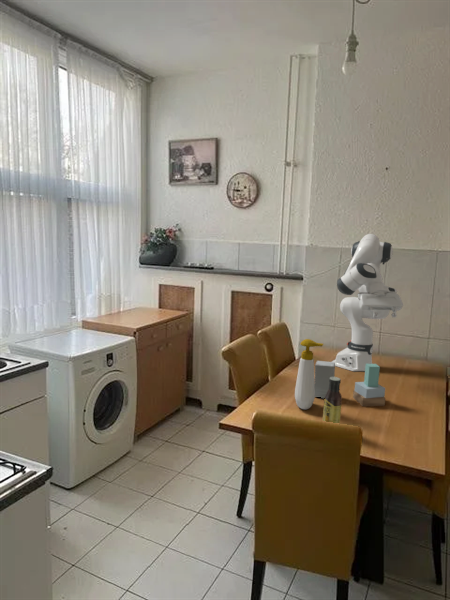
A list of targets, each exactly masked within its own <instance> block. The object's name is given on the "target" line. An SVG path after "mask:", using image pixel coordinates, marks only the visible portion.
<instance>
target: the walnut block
mask: <svg viewBox="0 0 450 600" xmlns="http://www.w3.org/2000/svg"><path fill="white" fill-rule="evenodd" d="M352 398H353V399H354V400H355V401H356V402H357V403H358V404H359V403H360V404H359V405H360V406H361V407H385V405H386V397H385V396H384V397H377V398H365V397H363V396H362V395H360V394H359V393H357V392H355V389H353V395H352Z"/></svg>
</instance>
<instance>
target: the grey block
mask: <svg viewBox="0 0 450 600" xmlns="http://www.w3.org/2000/svg"><path fill="white" fill-rule="evenodd" d="M354 390H355V392H357V393H359V394H360V395H362V396H363V397H365V398H377V397H385V393H386V387H384V386H383V385H380V384H379V383H378V387H367V386H366V385H365V384H364V381H355V382H354Z"/></svg>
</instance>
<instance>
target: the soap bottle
mask: <svg viewBox="0 0 450 600" xmlns="http://www.w3.org/2000/svg"><path fill="white" fill-rule="evenodd" d="M299 345H300V346H301V347H302V346H303V347H305V350H303V351H301V355H300V359H299V364H298V370H297V377H296V382H295V388H294V399H295V403H296V406H297V407H298V408H300V409H301V410H309V409H310V408H311V407H312V405H313V403H314V401H315V359H314V352H313V351H312V350H310V348H312V347H313V348H315V347H321V348H322V347H323V346H324V343H321V342H316V341H314V340H313V339H310V338H305V339H303V340H301V342H300V344H299Z"/></svg>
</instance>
